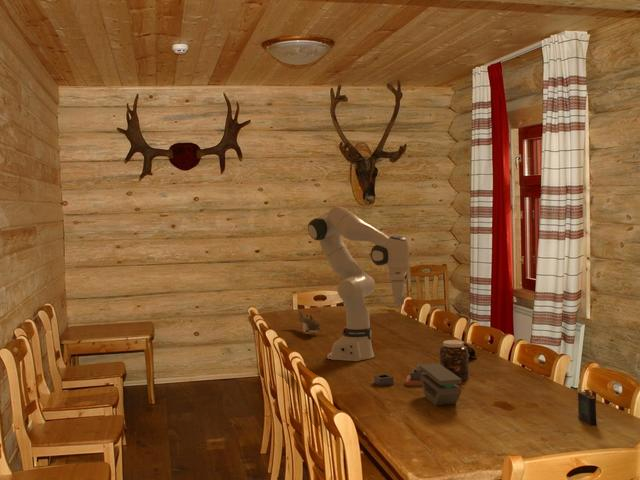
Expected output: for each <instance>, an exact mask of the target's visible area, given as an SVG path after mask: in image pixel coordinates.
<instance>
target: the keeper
mask: <svg viewBox="0 0 640 480" xmlns="http://www.w3.org/2000/svg"><path fill="white" fill-rule="evenodd" d="M419 365H420V364H416V367H415V368H416V369H417V372H421V370H420V369H419ZM404 382H405V384H404V385H405V386H420V387H423V386H422V383H421V381H420V380H411V378H410V374H409V375H407V377H406V380H405V381H404Z"/></svg>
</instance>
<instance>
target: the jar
mask: <svg viewBox="0 0 640 480" xmlns="http://www.w3.org/2000/svg"><path fill="white" fill-rule="evenodd" d="M463 343H464V341H462V340H458V339H449V340H444V341H443V343H442V345H441V346H439V364H441V365H442V366H443V367H445V368H446V369H448V370H449V371H451V372H452V373H453V374H455V375H456V376H458V377H459V378H461V380H462V382H464V381H467V380H469V378H470V377H469V376H470V375H469V373H470V372H469V368H470V367H469V366H470V365H469V353H468V349H467V347H466V346H464V344H463Z"/></svg>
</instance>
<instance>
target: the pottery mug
mask: <svg viewBox="0 0 640 480" xmlns="http://www.w3.org/2000/svg"><path fill="white" fill-rule="evenodd" d="M463 344H464V346H466V347H467V349H468V357H469V358H471V357H472V358H475V360H477V359H478V357H477V354H476V351H475V349H474V347H473V346H471V345H470V344H468V343H467V342H463Z"/></svg>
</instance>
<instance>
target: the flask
mask: <svg viewBox="0 0 640 480" xmlns="http://www.w3.org/2000/svg"><path fill="white" fill-rule="evenodd" d="M590 391H591V388H590V389H583V391H581V390H580V391H578V392H577V404H578V405H577V406H578V408H577V409H578V410H577V416H578V417H577V418H578V419H579V420H581V421H582V422H584V423H586V424H588V425H589V426H597V425H598V424H597V403H596V402H597V401H596V399H597V398H596V397H595V396H594V395H593V394H592V392H590Z"/></svg>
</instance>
